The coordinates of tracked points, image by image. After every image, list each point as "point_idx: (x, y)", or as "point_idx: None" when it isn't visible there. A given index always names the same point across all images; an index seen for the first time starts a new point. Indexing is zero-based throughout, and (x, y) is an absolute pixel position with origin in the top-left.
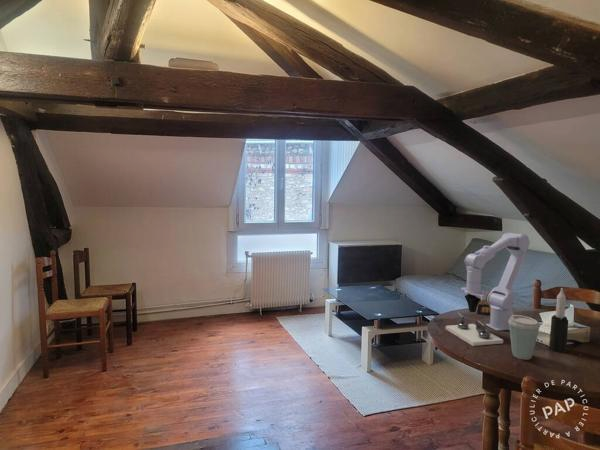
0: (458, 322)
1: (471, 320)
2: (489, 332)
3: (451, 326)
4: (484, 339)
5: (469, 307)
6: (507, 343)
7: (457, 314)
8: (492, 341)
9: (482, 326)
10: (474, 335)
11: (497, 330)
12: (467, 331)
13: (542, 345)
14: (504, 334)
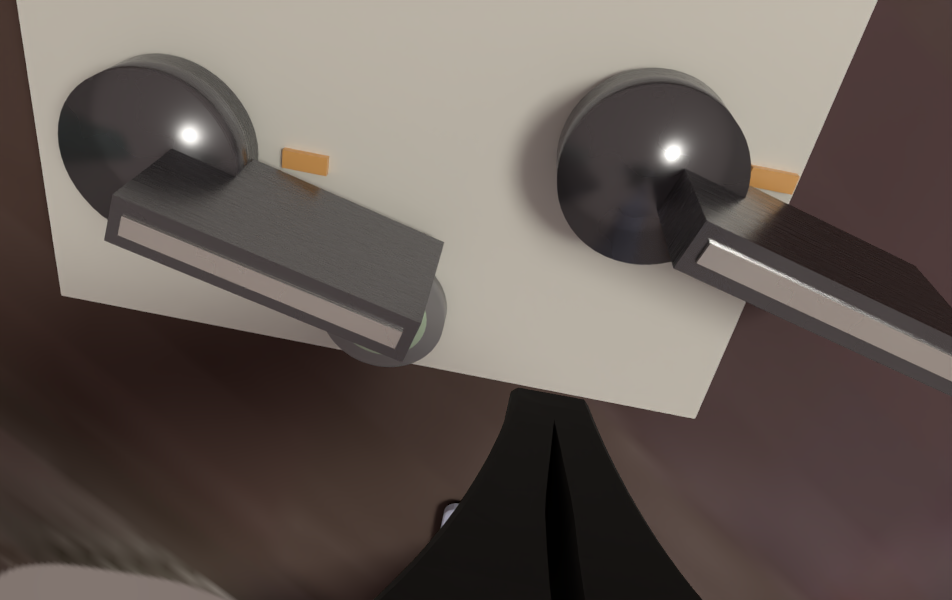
0: (749, 157)
1: (865, 534)
2: (335, 347)
3: (808, 9)
4: (96, 67)
5: (567, 453)
6: (81, 312)
7: (919, 314)
8: (44, 136)
9: (131, 193)
10: (282, 53)
11: (445, 508)
12: (475, 90)
13: (6, 534)
14: (337, 486)
